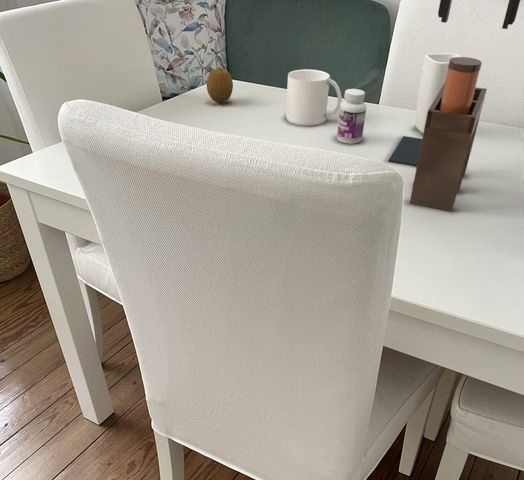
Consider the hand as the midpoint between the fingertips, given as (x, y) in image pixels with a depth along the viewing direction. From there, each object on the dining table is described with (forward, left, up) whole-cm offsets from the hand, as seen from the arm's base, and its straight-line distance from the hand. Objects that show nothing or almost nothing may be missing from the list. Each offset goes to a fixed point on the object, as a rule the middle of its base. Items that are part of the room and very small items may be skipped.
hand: (474, 24), depth 82 cm
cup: (+6, -32, -27) cm, 43 cm away
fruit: (+56, -30, -27) cm, 69 cm away
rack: (0, -4, -27) cm, 27 cm away
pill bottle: (+21, -20, -27) cm, 40 cm away
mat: (+7, -19, -27) cm, 34 cm away
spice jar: (0, 0, -14) cm, 14 cm away
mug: (+32, -28, -27) cm, 51 cm away
